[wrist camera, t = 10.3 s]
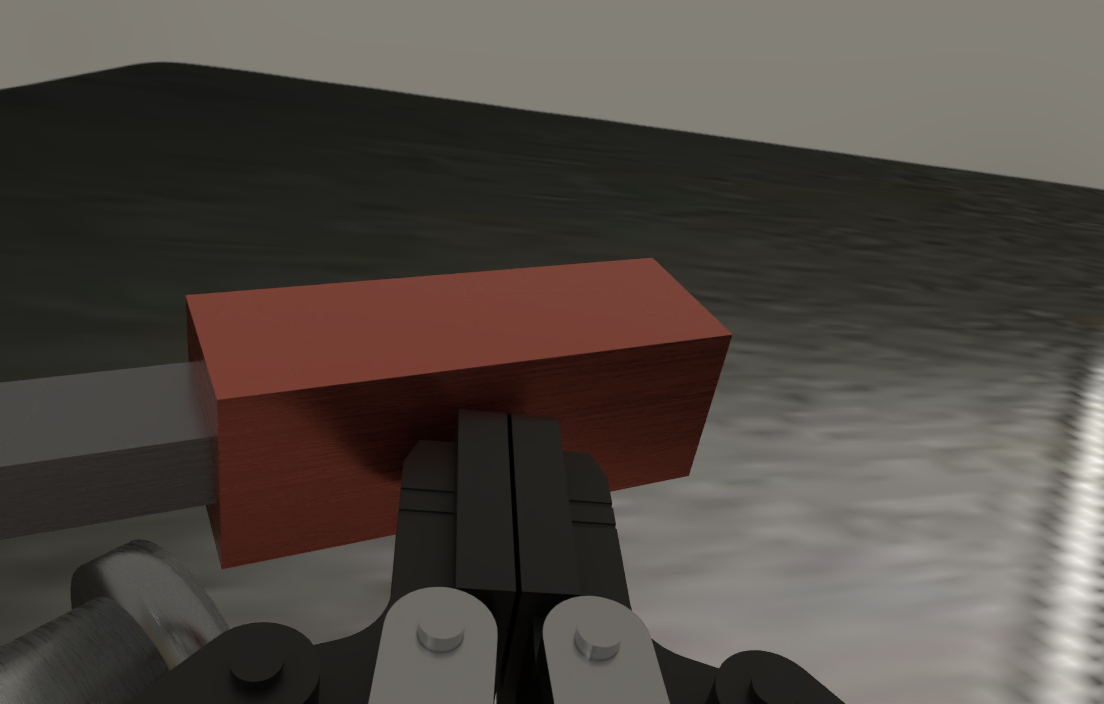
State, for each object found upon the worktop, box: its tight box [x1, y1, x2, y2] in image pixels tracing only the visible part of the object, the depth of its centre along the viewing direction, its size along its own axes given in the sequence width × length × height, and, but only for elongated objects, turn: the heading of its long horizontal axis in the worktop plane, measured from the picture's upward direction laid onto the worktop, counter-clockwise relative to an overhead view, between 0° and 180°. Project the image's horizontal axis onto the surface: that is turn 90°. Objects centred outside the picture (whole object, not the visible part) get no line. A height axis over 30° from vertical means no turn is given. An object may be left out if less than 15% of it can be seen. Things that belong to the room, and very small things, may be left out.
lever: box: [0, 258, 732, 569], centre depth 13 cm, size 20×3×3 cm, turn 115°
